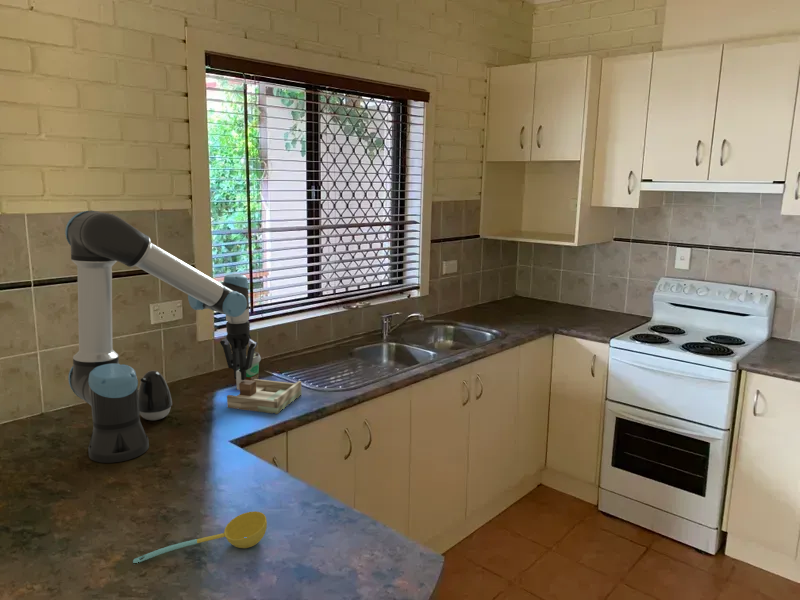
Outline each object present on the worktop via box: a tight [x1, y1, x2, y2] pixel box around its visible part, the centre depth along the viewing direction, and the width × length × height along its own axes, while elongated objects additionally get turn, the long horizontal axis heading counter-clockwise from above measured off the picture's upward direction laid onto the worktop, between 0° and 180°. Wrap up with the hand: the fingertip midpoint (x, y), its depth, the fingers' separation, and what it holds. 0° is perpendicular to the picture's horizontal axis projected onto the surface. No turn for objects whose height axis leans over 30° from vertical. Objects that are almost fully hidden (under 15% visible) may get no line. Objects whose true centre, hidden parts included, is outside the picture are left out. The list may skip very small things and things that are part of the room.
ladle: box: [132, 511, 268, 564], centre depth 127 cm, size 9×26×6 cm, turn 108°
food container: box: [239, 351, 262, 381], centre depth 226 cm, size 12×6×10 cm, turn 168°
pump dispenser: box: [138, 370, 173, 421], centre depth 192 cm, size 10×10×15 cm
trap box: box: [226, 378, 302, 415], centre depth 208 cm, size 18×18×5 cm
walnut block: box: [239, 380, 256, 396], centre depth 209 cm, size 4×4×4 cm
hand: (240, 388), depth 210 cm, fingers closed
